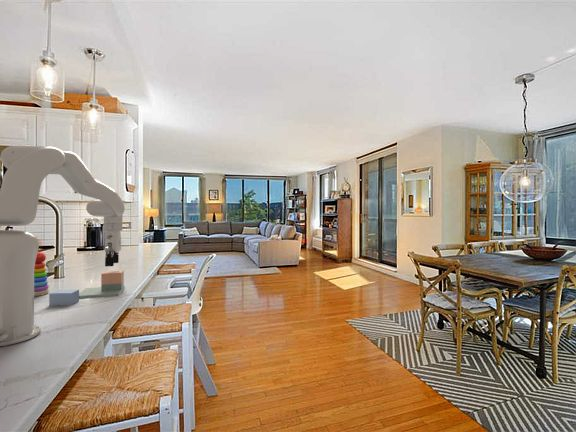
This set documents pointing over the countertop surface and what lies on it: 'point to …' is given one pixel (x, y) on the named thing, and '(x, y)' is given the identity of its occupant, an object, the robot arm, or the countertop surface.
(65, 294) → the slate brick
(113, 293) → the build plate
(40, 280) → the stacking toy
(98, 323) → the countertop surface
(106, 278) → the terracotta brick
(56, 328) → the countertop surface
